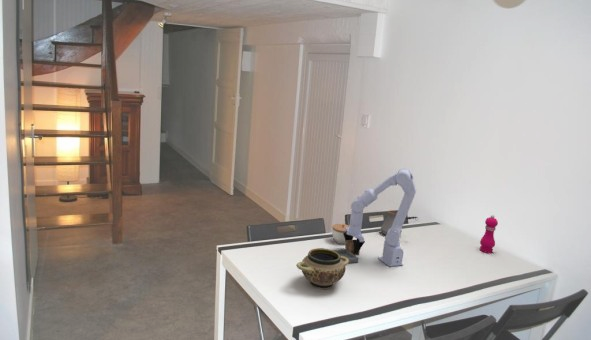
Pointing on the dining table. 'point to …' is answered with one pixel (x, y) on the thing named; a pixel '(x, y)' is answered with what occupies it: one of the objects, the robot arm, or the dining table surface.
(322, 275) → the ceramic bowl
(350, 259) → the tray
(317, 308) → the dining table surface
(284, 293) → the dining table surface
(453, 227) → the dining table surface
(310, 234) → the dining table surface
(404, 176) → the robot arm
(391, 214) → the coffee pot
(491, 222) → the pepper mill
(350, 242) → the walnut block
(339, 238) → the lidded jar
